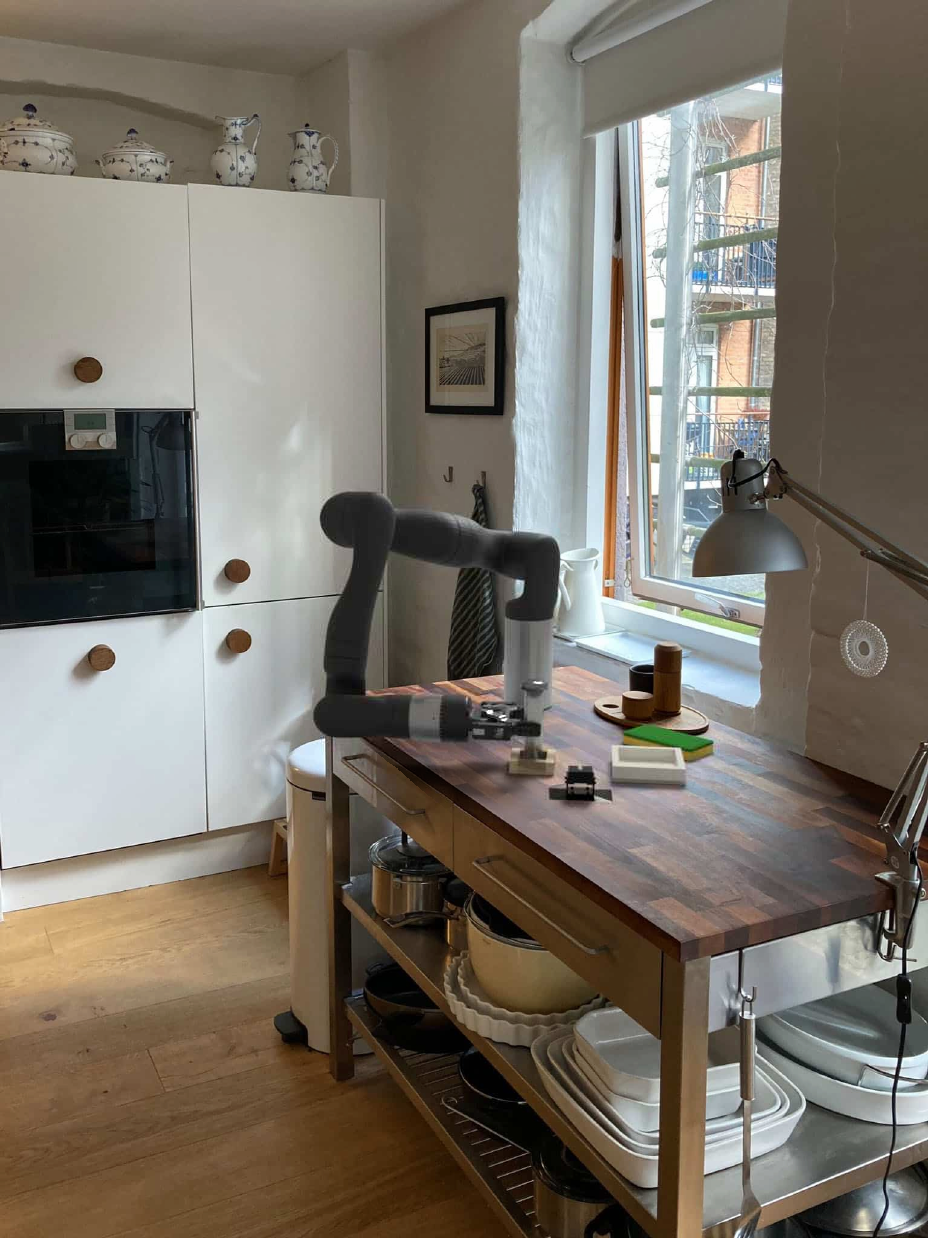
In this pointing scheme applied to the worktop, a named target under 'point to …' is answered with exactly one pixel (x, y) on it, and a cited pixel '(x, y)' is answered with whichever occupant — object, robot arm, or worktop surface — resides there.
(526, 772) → the socket block
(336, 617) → the robot arm
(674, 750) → the dish
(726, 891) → the worktop surface
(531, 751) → the pin
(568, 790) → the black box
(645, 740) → the dish sponge
